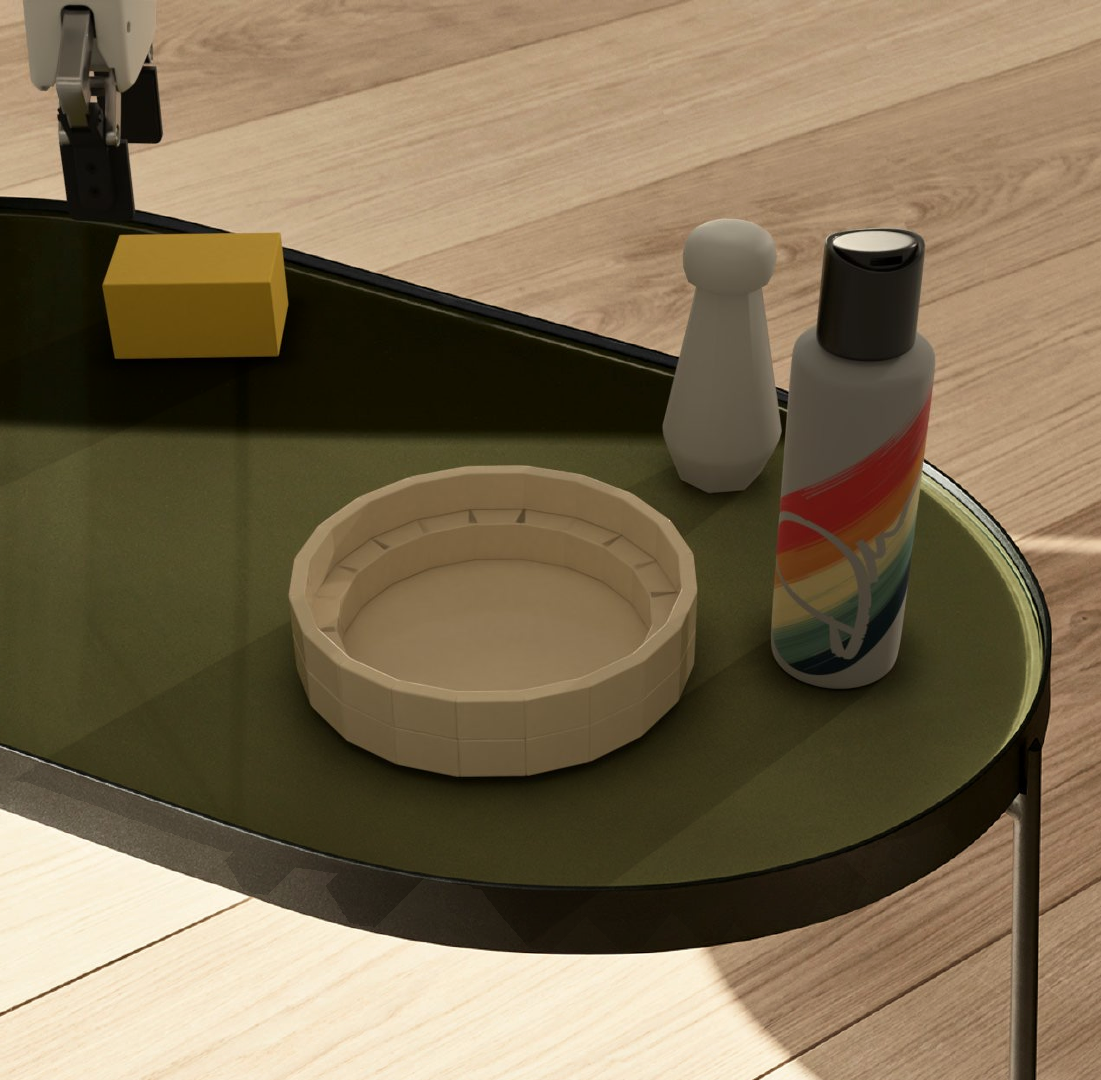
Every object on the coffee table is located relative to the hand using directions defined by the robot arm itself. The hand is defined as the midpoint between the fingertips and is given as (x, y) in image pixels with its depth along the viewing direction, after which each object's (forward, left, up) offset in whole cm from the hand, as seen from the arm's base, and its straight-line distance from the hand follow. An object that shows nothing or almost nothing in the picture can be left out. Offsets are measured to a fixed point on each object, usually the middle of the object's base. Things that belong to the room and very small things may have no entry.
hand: (118, 178), depth 102 cm
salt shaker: (+30, -12, -11) cm, 34 cm away
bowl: (+19, -27, -11) cm, 35 cm away
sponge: (+3, +3, -11) cm, 11 cm away
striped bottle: (+34, -27, -11) cm, 45 cm away
